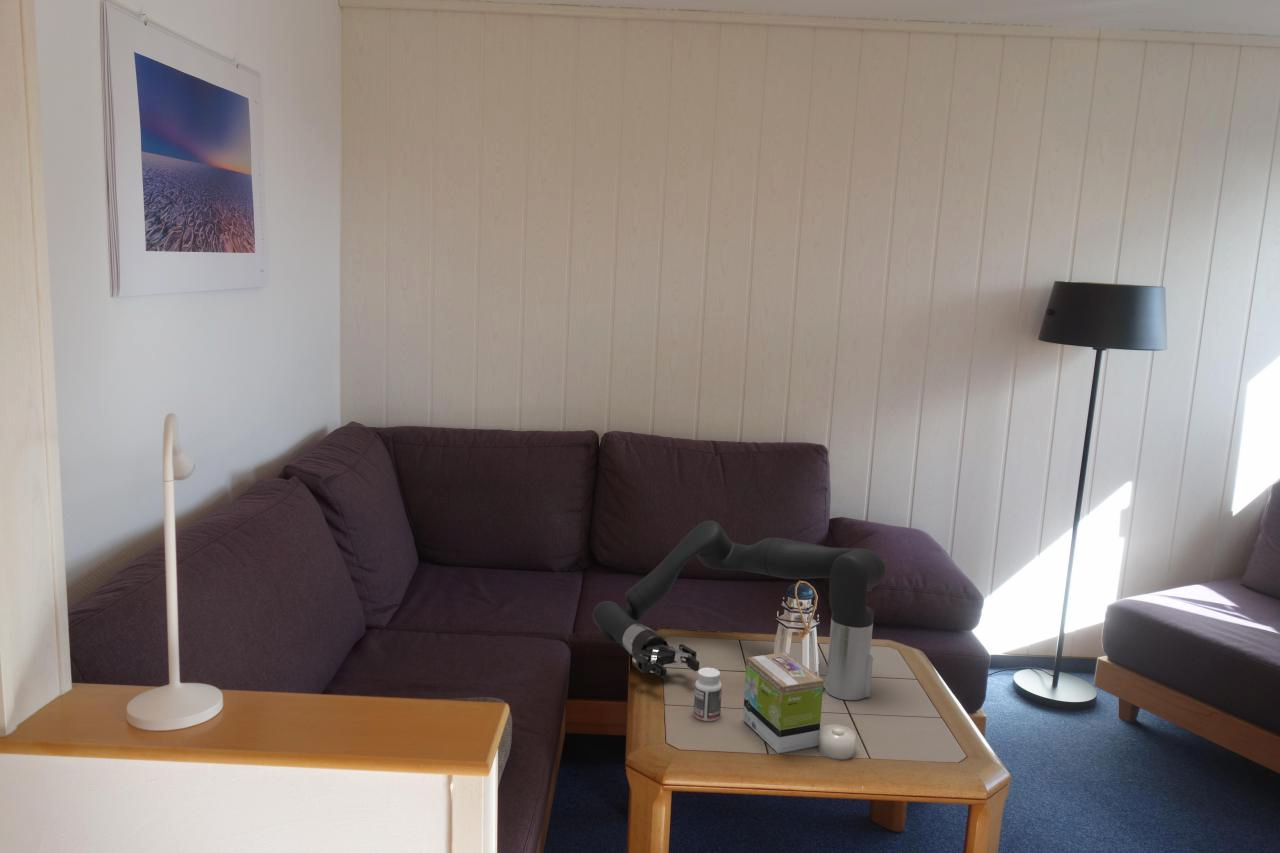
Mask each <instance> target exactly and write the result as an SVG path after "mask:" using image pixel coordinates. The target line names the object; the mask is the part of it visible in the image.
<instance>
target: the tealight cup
mask: <svg viewBox="0 0 1280 853" xmlns="http://www.w3.org/2000/svg"><path fill="white" fill-rule="evenodd" d="M856 737H857V736H856V732H855V731H854V729H852V728H850V727H848V726H845V725H841V724H834V723H833V724H826V725H824V726H822V727H820V734H819V745H818V751H819V752H820V754H822V755H824V757H827V758H829V759H833V760H841V761H842V760H848V759H851V758H852V757H854V755H855V748H856V747H855V746H856Z"/></svg>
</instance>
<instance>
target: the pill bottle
mask: <svg viewBox="0 0 1280 853" xmlns="http://www.w3.org/2000/svg"><path fill="white" fill-rule="evenodd" d="M697 678H698V679H697V680H696V681H695V684H694V698H693V699H694V700H693V702H694V704H693V715H694V717H695V718H696V719H698V720H699V721H703V722H704V721H705V722H713V721H717V720H718V719H719V718H721V711H722V710H721V708H722V690H723V685H722V682H721V681H720V678H721V672H720V670H718V669H717V668H713V667H701V668H699V670H698V671H697Z"/></svg>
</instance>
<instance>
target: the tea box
mask: <svg viewBox="0 0 1280 853" xmlns="http://www.w3.org/2000/svg"><path fill="white" fill-rule="evenodd" d="M744 678H745V679H744V680H745V681H744V693H743V694H744V696H743V709H742V710H743V711H742V713H743V715H742V720H743V722H744V723H745V724H747V725H748V726H749V728H751V729H752V730H753V731H754V732H755V733H756V734H758V735H759V737H761V739H762V740H764V741H765V742H766V743H767V745H769V746H770V747H771V748H772V749H773V750H774V751H775V752H776V754H782V753H783V754H784V753H787V752H788V753H789V752H794V751H799V750H805V749H810V748H815V747H819V738H820V729H821V718H822V707H823V697H824V694H823V693H824V679H823V678H821V677H820V676H818V675H817V674H816V673H814V672H813V671H812V670H810V669H809V668H808V667H806V666H805V665H804V664H802V663H801V662H800V661H798V660H797V659H796V658H795V657H793V656H792V655H790V654H789V653H788V652H786V651H782V652H776V653H769V654H763V655H757V656H751V657H749V656H746V662H745V677H744Z"/></svg>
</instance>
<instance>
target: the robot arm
mask: <svg viewBox="0 0 1280 853" xmlns="http://www.w3.org/2000/svg"><path fill="white" fill-rule="evenodd" d="M695 556H696V557H697V559H698V560H699V562H701V564H702V565H704V566H705V567H707V568H709V569H715V570H729V571H730V570H731V571H743V572H750V573H754V574H760V575H767V576H770V577H775V578H776V577H777V578H782V579H786V580H787V579H788V580H805V579H806V580H809V579H810V580H811V579H823V578H824V579H829V597H828V598H829V599H828V600H829V601H828V603H829V608H830V610H831V618H830V629H829V630H830V631H829V644H828V655H827V656H828V657H827V658H828V659H827V666H826V667H827V669H826V679H825V692H826V693H828V695H830V696H831V697H834V698H836V699H839V700H844V701H859V700H862V699H864V698H870V695H871V683H872V674H873V664H874V663H873V662H874V658H873V656H872V655H871V649H872V638H873V627H874V616H875V613H874V610H873V609H872V607H870V606H868V605H867V598H868V597H867V595H868V594H867V593H868V590H872V589H873V588H875V587H876V586H878V584H880V583H881V582H882V581H883V579H884V577H885V575H886V567H885V563H884V561H883V560H882V558H881V557H880V556H879V555H878V554H877V553H875V552H874V551H872V550H870V549H867V548H855V547H853V548H846V547H830V546H824V545H820V544H817V543H816V544H815V543H809V542H805V541H798V540H793V539H789V538H780V537H767V538H764V539H761V540H760V541H757V542H756V543H754V544H751V545H747V544H741V543H738V542H737V543H736V542H733V541H732V540H731V539H730V537H729V536H728V535H727V533H726V532H725V530H724V529H723V528H722V526H721V525H720V524H719V523H718V522H717V521H715V520H705V521H703V522H701V523H699V524H697V525H696V526H695V527H694V528H692V529H691V530H690V531H689V532H688V533H687V534H686V535H685V536H684V537H683V538H682V539H681V540H680V542H679V543H678V544H677V545H676V546H675V547H674V548H673V549H672V550H671V551H670V552H669V554H667V556H666V557H664V559H663V560H662V561H661V562H660V563H659V564H658V565H657V566H656V567H655V568H654V569H652V571H650V572H649V573H648V574H646V576H644V577H643V578H642V579H641V580H639V581H638V582H636V583H635V584H634V585H633V586H632V587H630V588H629V589H628V590H627V591H626V592H625V593H624V598H625V601H626V604H627V607H626V609H625V610H624V609H623V608H622V607H621V606H620V605H619V604H618V603H616V602H614V601H612V600H604V601H602V602H599V603H598V604H596V606H595V607H594V609H593V611H592V621H593V622H594V623H595V625H596V626H597V628H598V629H599V630H600V631H601V632H602V634H603V635H604V636H605V637H606V638H607V640H609V641H610V642H611V641H612V642H616V643H617V644H618V645H620V646H621V647H622V648H623V649H625V650H626V651H627V652H628V653H629V654H630V655H631V656H632V659H631V660H632V662H631V663H632V665H633V666H634V667H635V668H636V669H637V670H638V671H640V672H641V673H642V674H647V673H648V672H649V673H653V674H655V675H657V676H659V677H661V678H662V679H666V678H667V672H668V671H667V668H666V666H665V665H674V666H677V667H678V666H679V667H680V666H681V665H683V666H687V667H688V668H690V669H691V670H692V671H693V672H698V670H699V669H700V661H699V660H697V651H696V650H693V649H692V648H690V647H689V646H687V645H685V644H683V643H680V644H678V647H677V648H676V647H675V648H674V647H673V646H669V644H668V641H667V640H666V639H665V638H664V636H662V635H660V634H659V633H657V632H656V631H654V630H653V629H652V628H650V627H648V626H646V625H644V624H642V623H641V622H640V620H641V618H642V617H643V616H644V614H646V612H648V611H649V610H651V609H652V608H653V607H654V606H655V605H657V604H658V603H659V602H660V601H662V600H663V599H664V598H665V597H666V596H667V595H668V594H669V592H670V590H672V588H673V586H674V584H675V582H676V579H677V577H678V576H679V574H680V572H681V570H683V567H684V566H685V565H686V564H687V563H688V562H690V560H691V559H692V558H694V557H695ZM676 655H677V657H676ZM675 658H677V660H676V659H675ZM684 659H685V660H684Z"/></svg>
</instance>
